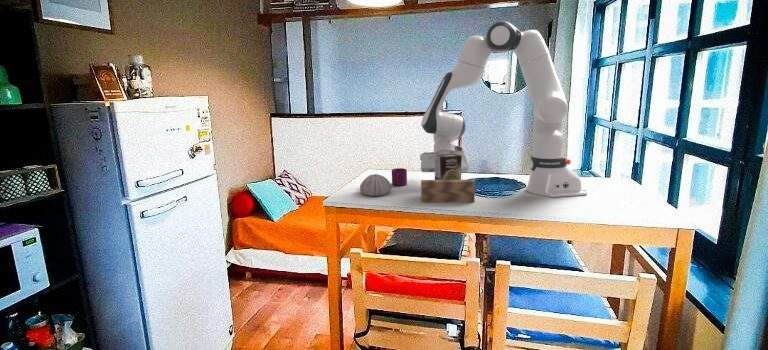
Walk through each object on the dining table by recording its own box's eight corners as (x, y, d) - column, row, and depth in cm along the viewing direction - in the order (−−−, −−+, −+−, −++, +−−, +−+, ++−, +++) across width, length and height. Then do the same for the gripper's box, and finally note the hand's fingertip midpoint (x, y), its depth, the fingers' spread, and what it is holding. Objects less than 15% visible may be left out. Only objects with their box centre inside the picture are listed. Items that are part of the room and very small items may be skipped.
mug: (408, 183, 181) (408, 168, 179) (402, 188, 172) (402, 173, 170) (394, 182, 183) (394, 167, 181) (387, 188, 174) (387, 172, 172)
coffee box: (440, 197, 158) (440, 157, 154) (434, 193, 164) (434, 154, 160) (461, 194, 160) (462, 155, 156) (454, 190, 166) (454, 152, 162)
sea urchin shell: (373, 200, 157) (373, 180, 155) (352, 193, 167) (352, 175, 165) (398, 193, 166) (397, 174, 164) (376, 187, 176) (376, 169, 174)
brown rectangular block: (472, 198, 155) (473, 178, 153) (474, 202, 150) (474, 181, 148) (421, 198, 157) (421, 178, 155) (421, 202, 152) (421, 182, 150)
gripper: (419, 148, 171) (420, 176, 163) (468, 147, 169) (470, 175, 161) (420, 156, 176) (420, 183, 169) (467, 156, 174) (469, 183, 167)
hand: (445, 179), depth 165 cm, fingers closed
